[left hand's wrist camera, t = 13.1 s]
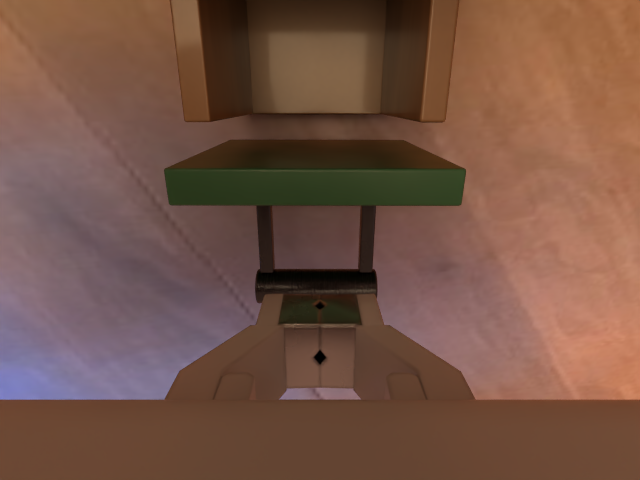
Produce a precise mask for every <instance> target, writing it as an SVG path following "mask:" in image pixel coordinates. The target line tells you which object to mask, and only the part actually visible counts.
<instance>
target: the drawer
mask: <svg viewBox="0 0 640 480" xmlns="http://www.w3.org/2000/svg"><path fill="white" fill-rule="evenodd" d="M170 5H171V13H172V22H173V30H174V38H175V46H176V55H177V63H178V71H179V80H180V88H181V96H182V104H183V113H184V120H185V122H212V121H217V120H222V119H228V118H233V117H238V116H243V115H249V114H384V115H389V116H394V117H398V118H403V119H408V120H413V121H418V122H444V121H445V119H446V111H447V102H448V94H449V85H450V76H451V67H452V59H453V50H454V41H455V33H456V24H457V15H458V7H459V0H170ZM164 173H165V180H166V187H167V194H168V201H169V204H170V205H256V206H257V223H258V239H259V256H260V269H258V271H257V274H256V282H255V294H256V300H257V303H262V302H263V298H264V296H265V295H266V294H306V295H334V294H375V296H376V299H377V276H376V271H375V270H374V269H372V267H373V249H374V231H375V214H376V206H459V205H461V203H462V196H463V189H464V182H465V175H466V169H464V168H462V167H460V166H458V165H455V164H453V163H451V162H449V161H447V160H445V159H442V158H440V157H438V156H436V155H434V154H432V153H430V152H427V151H425V150H423V149H421V148H419V147H417V146H415V145H412V144H410V143H408V142H406V141H404V140H229V141H227V142H225V143H222V144H220V145H218V146H216V147H213V148H211V149H209V150H206V151H204V152H202V153H200V154H197V155H195V156H193V157H190V158H188V159H186V160H184V161H181V162H179V163H177V164H174V165H172V166H170V167H168V168H165V169H164ZM272 206H361V210H360V234H359V258H358V269H275V260H274V238H273V216H272Z"/></svg>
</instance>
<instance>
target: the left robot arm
mask: <svg viewBox="0 0 640 480" xmlns="http://www.w3.org/2000/svg"><path fill="white" fill-rule="evenodd" d="M318 387H321V388H354V391H355V392H356V393H357V395H358V396H359V397H360V398H361V399H362V400H279V399H280V397H281V396H282V395H283V394H284V393H285V391H286V388H318ZM0 480H640V400H476V399H475V398H474V396H473V394H472V392H471V390H470V388H469V386H468V384H467V382H466V380H465V378H464V376H463V375H462V373H461V371H459V370H458V369H456V368H455V367H453V366H452V365H450V364H448V363H447V362H445V361H444V360H442V359H441V358H439V357H438V356H436V355H435V354H433V353H431V352H430V351H428V350H427V349H425V348H424V347H422V346H421V345H419V344H418V343H416V342H414V341H413V340H411V339H410V338H408V337H407V336H405V335H404V334H402V333H400V332H399V331H397V330H396V329H394V328H393V327H391V326H390V325H384V323H383V319H382V316H381V312H380V309H379V306H378V302H377V299H376V296H375V294H334V295H306V294H266V295H265V296H264V298H263V302H262V305H261V309H260V312H259V316H258V319H257V323H256V325H250V326H249V327H247V328H246V329H244V330H243V331H241V332H239V333H238V334H236V335H235V336H233V337H232V338H230V339H229V340H227V341H225V342H224V343H222V344H221V345H219V346H218V347H216V348H215V349H213V350H211V351H210V352H208V353H207V354H205V355H204V356H202V357H201V358H199V359H198V360H196V361H194V362H193V363H191V364H190V365H188V366H187V367H185V368H184V369H182V370H180V371H179V373H178V375H177V377H176V379H175V381H174V382H173V384H172V386H171V388H170V390H169V392H168V394H167V396H166V398H165V399H164V400H0Z"/></svg>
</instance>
